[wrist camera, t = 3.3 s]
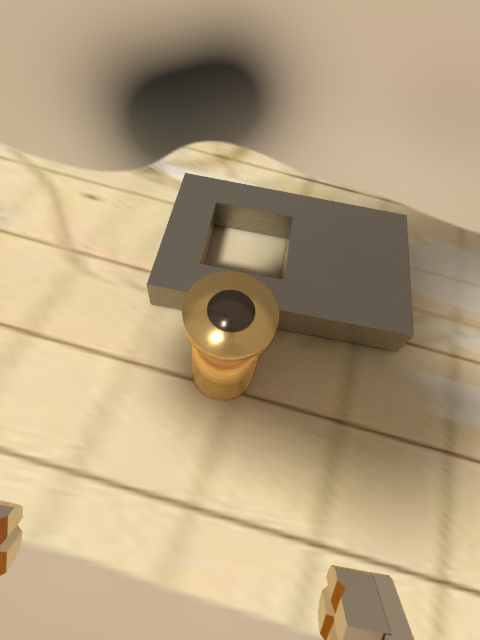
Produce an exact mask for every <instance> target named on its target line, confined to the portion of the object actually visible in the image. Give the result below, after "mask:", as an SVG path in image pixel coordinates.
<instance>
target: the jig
mask: <svg viewBox="0 0 480 640" xmlns="http://www.w3.org/2000/svg"><path fill="white" fill-rule="evenodd" d="M215 225H219V226H224V227H229V228H234V229H240V230H245V231H250V232H255V233H261V234H266V235H271V236H276V237H281V238H286V245H285V252H284V259H283V266H282V273H281V279H278V278H272V277H267V276H262V275H257V274H251V273H246V272H241V271H236V270H231V269H225V268H220V267H215V266H210V265H205V260H206V256H207V252H208V249H209V245H210V241H211V237H212V234H213V230H214V226H215ZM224 271H234V272H240V273H245V274H247V275H250V276H252V277H254V278H256V279H258V280H259V281H261V282H262V283H263V284H265V285H266V286H267V287H268V288H269V289H270V291H271V292H272V293H273V295H274V297H275V299H276V301H277V304H278V308H279V322H278V326H277V328H278V329H283V330H288V331H294V332H299V333H304V334H309V335H314V336H320V337H325V338H330V339H335V340H340V341H346V342H351V343H356V344H361V345H367V346H372V347H377V348H382V349H387V350H393V351H398V350H399V349H400V348H401V347H402V346H403V345H404V344H405V343H406V342H407V341H408V340H409V339H410V338H412V337H413V320H412V303H411V286H410V268H409V251H408V234H407V217H406V215H402V214H397V213H391V212H386V211H381V210H376V209H371V208H365V207H360V206H355V205H350V204H344V203H339V202H334V201H329V200H324V199H318V198H313V197H308V196H303V195H297V194H292V193H287V192H282V191H277V190H271V189H266V188H261V187H256V186H251V185H245V184H240V183H235V182H230V181H224V180H219V179H214V178H209V177H204V176H198V175H193V174H188V173H185V175H184V178H183V181H182V184H181V187H180V190H179V193H178V195H177V198H176V201H175V204H174V207H173V210H172V213H171V216H170V219H169V222H168V224H167V227H166V230H165V233H164V236H163V239H162V242H161V245H160V248H159V251H158V254H157V256H156V259H155V262H154V265H153V268H152V271H151V274H150V277H149V280H148V283H147V288H148V293H149V298H150V303H151V304H153V305H158V306H163V307H168V308H174V309H179V310H182V307H183V302H184V299H185V296H186V294H187V293H188V291H189V290H190V288H191V287H192V286H193V285H194V284H195V283H196V282H197V281H199V280H200V279H202V278H204V277H205V276H208V275H210V274H213V273H217V272H224Z"/></svg>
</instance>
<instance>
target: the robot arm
mask: <svg viewBox="0 0 480 640" xmlns="http://www.w3.org/2000/svg"><path fill="white" fill-rule="evenodd" d="M22 518H23V507H22V506H21V505H18V504H14V503H9V502H5V501H0V576H1V575H2V574H4V573H6V572H7V570H8V569H9V567H10V566H11V564H12V563H13V561H14V559H15V557H16V555H17V553H18V551H19V548H20V544H21V540H22V531H21V529H20V528H19V526H18V525H17V524H18V523H19V522H20V520H21V519H22ZM327 582H328V586H327V587H326V588H324V589H323V590H322V593H321V596H320V600H319V610H318V620H319V630H320V634H321V636H322V637H323V638H324V640H414V637H413V635H412V632H411V629H410V626H409V624H408V621H407V618H406V615H405V613H404V610H403V607H402V604H401V602H400V599H399V596H398V594H397V591H396V588H395V585H394V583H393V580H392V578H391V577H390V576H389V575H383V574H378V573H372V572H367V571H361V570H356V569H350V568H345V567H339V566H334V565H331V567H330V568H329V570H328V573H327Z"/></svg>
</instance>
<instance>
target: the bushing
mask: <svg viewBox="0 0 480 640" xmlns="http://www.w3.org/2000/svg"><path fill="white" fill-rule="evenodd" d="M182 318H183V327H184V331H185V333H186V336H187V338H188V339H189V341H190V342H191V347H192V374H193V380H194V382H195V384H196V386H197V388H198V389H199V390H200V391H201V392H202V393H203V394H205V395H206V396H208V397H210V398H212V399H216V400H229V399H233V398H235V397H237V396H239V395H241V394H242V393H243V392H244V391H245V390H246V389H247V387H248V386H249V384H250V382H251V379H252V376H253V373H254V370H255V367H256V364H257V361H258V358H259V355H260V353H261V352H263V351H264V350H265V349H266V348H267V347H268V345H269V344H270V343H271V341H272V339H273V337H274V334H275V332H276V329H277V326H278V322H279V308H278V304H277V301H276V299H275V297H274V295H273V293H272V292H271V291H270V289H269V288H268V287H267V286H266V285H265V284H263V283H262V282H261V281H259V280H258V279H256V278H254V277H252V276H250V275H247V274H245V273H240V272H234V271H224V272H217V273H213V274H210V275H208V276H205V277H204V278H202V279H200V280H199V281H197V282H196V283H195V284H194V285H193V286H192V287H191V288H190V290H189V291H188V293H187V294H186V296H185V299H184V302H183V307H182Z"/></svg>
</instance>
